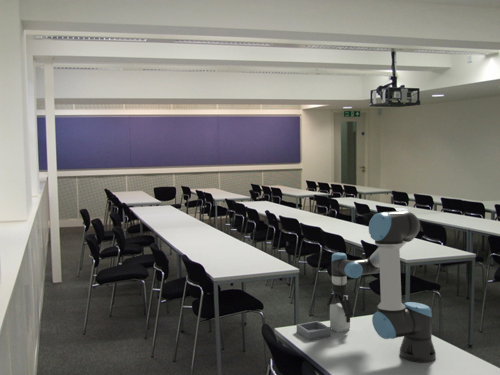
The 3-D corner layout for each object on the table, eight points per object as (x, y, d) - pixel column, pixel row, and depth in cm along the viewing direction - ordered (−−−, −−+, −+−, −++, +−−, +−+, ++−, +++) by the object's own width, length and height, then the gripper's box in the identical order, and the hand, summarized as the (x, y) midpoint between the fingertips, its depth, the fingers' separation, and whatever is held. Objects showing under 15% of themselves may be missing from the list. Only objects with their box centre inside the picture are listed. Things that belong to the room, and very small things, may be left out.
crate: (330, 336, 243) (330, 328, 243) (308, 340, 238) (308, 332, 238) (317, 328, 255) (317, 320, 254) (296, 332, 250) (296, 324, 250)
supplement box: (349, 330, 251) (349, 306, 250) (337, 332, 248) (337, 308, 247) (342, 326, 258) (341, 302, 257) (329, 328, 255) (329, 304, 254)
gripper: (360, 288, 241) (360, 330, 243) (332, 277, 264) (332, 315, 266) (347, 290, 238) (347, 333, 240) (320, 278, 261) (320, 317, 263)
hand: (339, 324), depth 253 cm, fingers open, 13 cm apart
